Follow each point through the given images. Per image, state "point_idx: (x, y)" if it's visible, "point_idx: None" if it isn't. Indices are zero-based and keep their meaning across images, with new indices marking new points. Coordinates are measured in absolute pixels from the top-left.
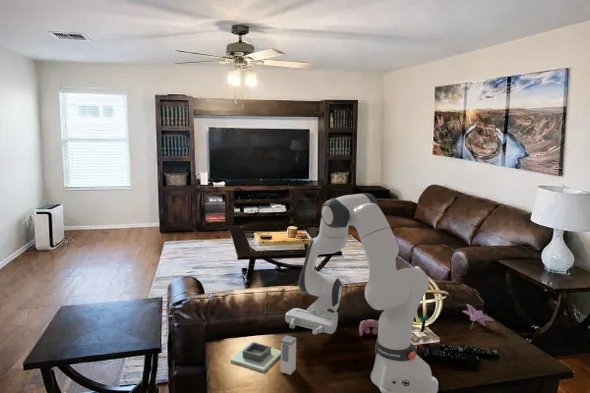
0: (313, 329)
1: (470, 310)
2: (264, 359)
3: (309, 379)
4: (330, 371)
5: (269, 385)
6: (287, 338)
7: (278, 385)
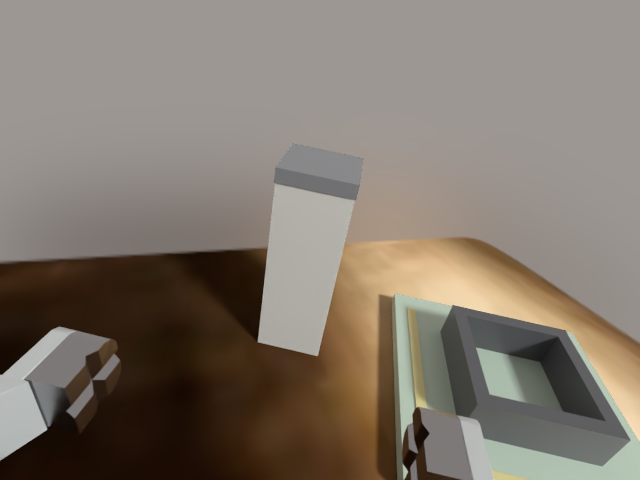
0: (94, 344)
1: None
2: (443, 359)
3: (178, 287)
4: None
5: None
6: (333, 166)
7: None
